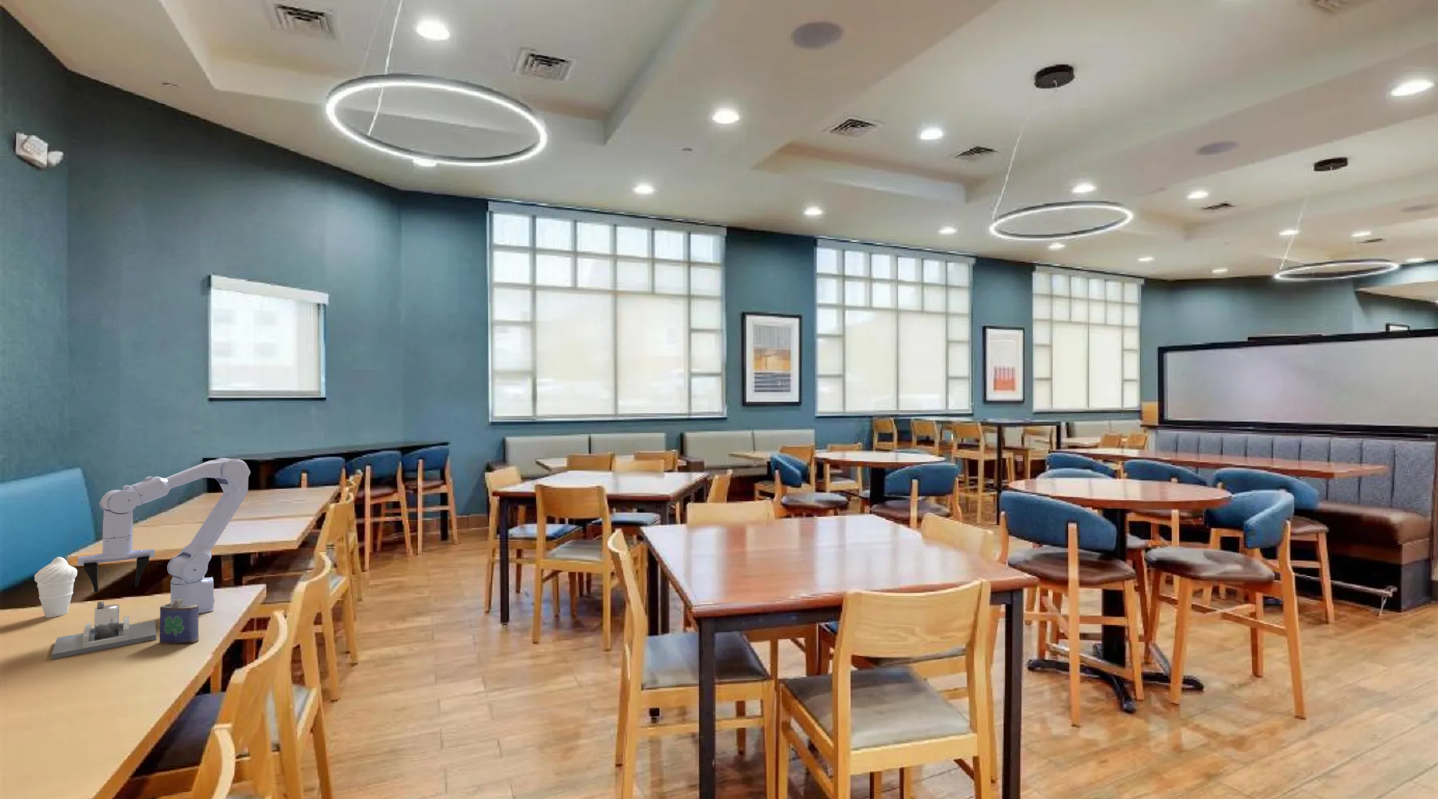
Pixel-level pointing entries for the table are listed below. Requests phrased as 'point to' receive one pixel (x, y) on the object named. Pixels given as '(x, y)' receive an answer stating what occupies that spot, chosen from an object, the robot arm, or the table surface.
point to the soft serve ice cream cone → (56, 587)
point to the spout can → (106, 621)
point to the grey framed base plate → (103, 639)
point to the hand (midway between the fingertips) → (116, 588)
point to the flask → (179, 623)
